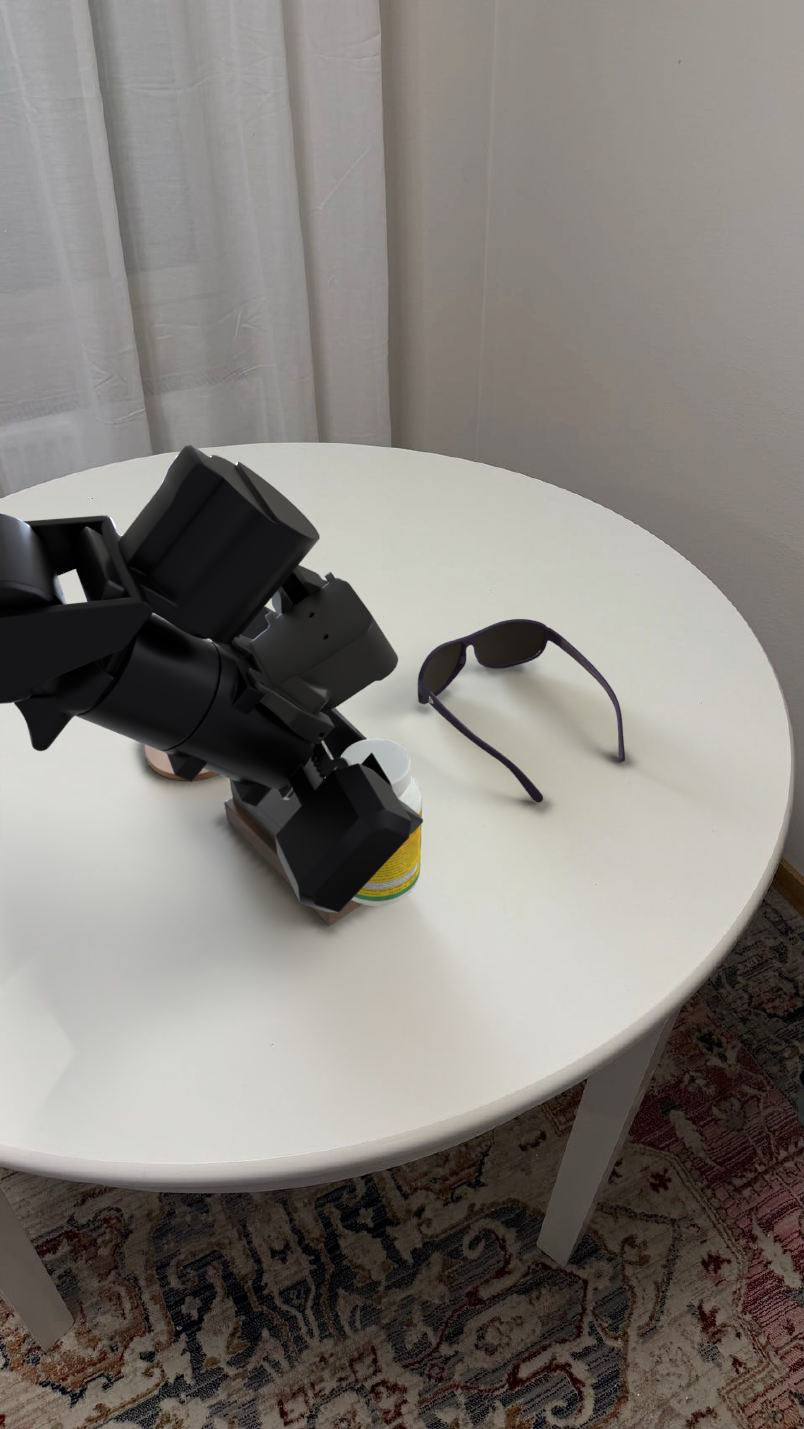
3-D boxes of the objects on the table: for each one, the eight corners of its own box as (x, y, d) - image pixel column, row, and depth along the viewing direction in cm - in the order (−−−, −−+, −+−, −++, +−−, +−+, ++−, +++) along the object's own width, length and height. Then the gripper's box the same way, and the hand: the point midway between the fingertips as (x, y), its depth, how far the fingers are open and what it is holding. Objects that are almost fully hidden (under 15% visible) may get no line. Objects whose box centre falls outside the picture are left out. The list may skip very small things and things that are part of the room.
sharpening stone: (399, 880, 69) (398, 836, 66) (329, 926, 66) (325, 882, 64) (293, 783, 77) (288, 739, 74) (226, 820, 74) (218, 776, 71)
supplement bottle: (317, 866, 62) (307, 752, 56) (389, 830, 65) (387, 716, 58) (364, 924, 59) (359, 809, 53) (438, 883, 61) (441, 769, 55)
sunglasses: (526, 649, 89) (530, 602, 86) (653, 748, 79) (663, 700, 76) (398, 705, 84) (397, 657, 80) (517, 819, 74) (521, 770, 70)
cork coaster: (156, 792, 76) (155, 786, 76) (136, 727, 82) (135, 722, 81) (258, 764, 78) (257, 758, 78) (232, 703, 84) (231, 697, 84)
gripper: (364, 681, 39) (578, 800, 49) (228, 475, 52) (421, 604, 62) (192, 877, 42) (430, 951, 52) (105, 635, 55) (309, 733, 65)
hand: (397, 792), depth 58 cm, fingers closed on supplement bottle, 5 cm apart
